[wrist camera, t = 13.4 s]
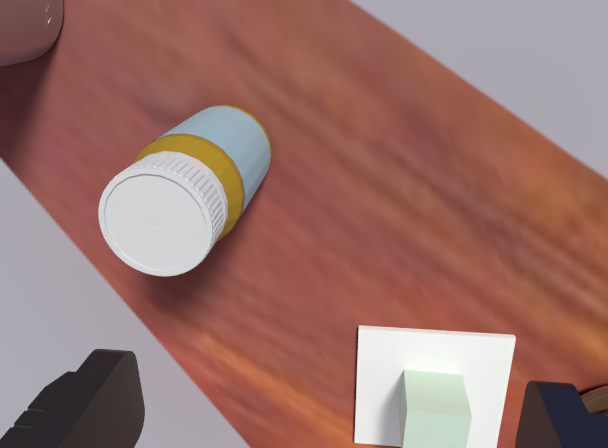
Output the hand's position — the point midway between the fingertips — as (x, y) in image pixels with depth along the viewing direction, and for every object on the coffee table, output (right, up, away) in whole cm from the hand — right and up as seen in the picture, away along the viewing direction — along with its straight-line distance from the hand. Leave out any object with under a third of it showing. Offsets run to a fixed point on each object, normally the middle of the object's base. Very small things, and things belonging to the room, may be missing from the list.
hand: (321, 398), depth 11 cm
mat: (+11, -11, +36) cm, 40 cm away
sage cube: (+11, -12, +36) cm, 39 cm away
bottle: (-6, +10, +30) cm, 32 cm away
